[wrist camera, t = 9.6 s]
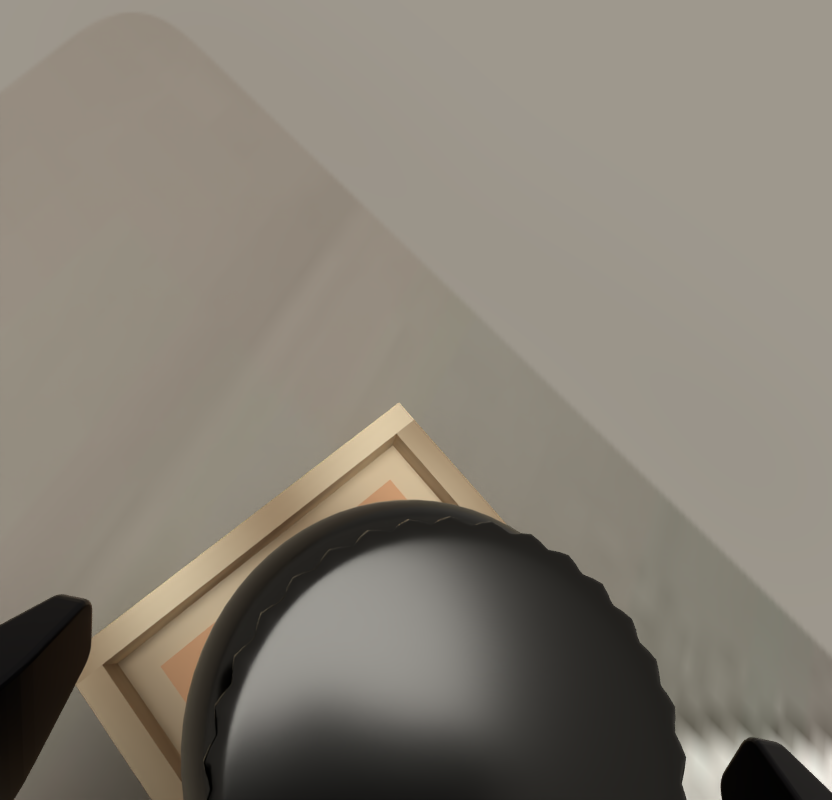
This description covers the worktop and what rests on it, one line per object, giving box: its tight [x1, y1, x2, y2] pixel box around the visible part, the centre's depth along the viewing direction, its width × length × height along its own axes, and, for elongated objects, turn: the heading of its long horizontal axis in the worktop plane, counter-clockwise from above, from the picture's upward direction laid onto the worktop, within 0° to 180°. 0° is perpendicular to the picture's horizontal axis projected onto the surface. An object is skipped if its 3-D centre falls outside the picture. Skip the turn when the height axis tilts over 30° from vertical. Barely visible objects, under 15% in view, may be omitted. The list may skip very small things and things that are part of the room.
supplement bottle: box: [181, 500, 686, 800], centre depth 11 cm, size 7×7×12 cm
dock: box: [75, 403, 507, 800], centre depth 17 cm, size 11×11×2 cm
